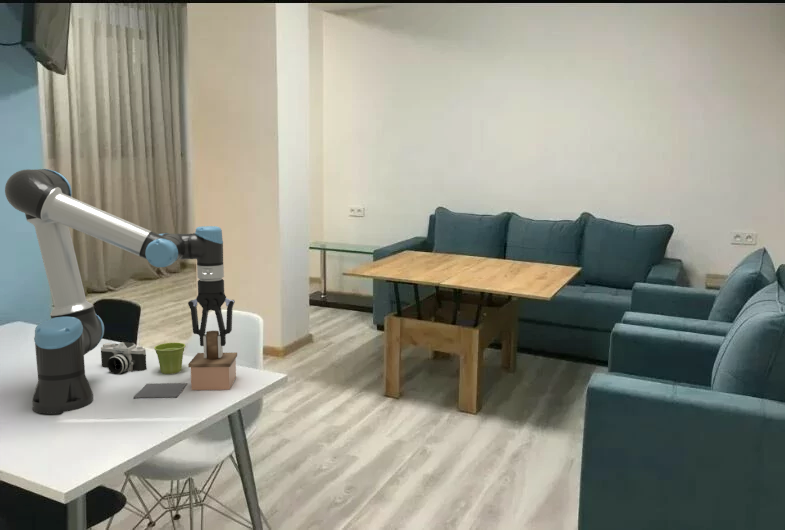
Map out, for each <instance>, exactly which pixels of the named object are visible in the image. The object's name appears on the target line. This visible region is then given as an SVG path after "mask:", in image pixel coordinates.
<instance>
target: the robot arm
mask: <svg viewBox="0 0 785 530" xmlns="http://www.w3.org/2000/svg"><path fill="white" fill-rule="evenodd" d="M72 193H73V192H72V187H71V184H70V182H69V180H68V179H67V178H66V177H65V176H64V175H63V174H61V173H59V172H58V171H55V170H51V169H49V168H48V169H47V168H42V169H41V168H40V169H38V168H37V169H29V168H28V169H27V168H26V169H21V170H18V171H16V172H14V173H13V174H12V175H10V176H9V178H8V179H7V181H6V182H5V186H4V195H5V197H6V200H7V201H8V204H10V206H12V207H13V208H14V209H16V210H17V211H19V212H21V213H24V215H25V219H26V221H27V222H28V223H29V224H31V225H33V227H34V229H35V233H36V238H37V242H38V247H39V250H40V253H41V254H40V255H41V257H42V263H43V266H44V270H45V274H46V275H45V276H46V278H47V283H48V286H49V290H50V294H51V298H52V303H53V307H54V308H53V309H52V310H51V312H50V315H49V316H50V319H45V320H43V321H41V322H40V323H38V324H37V325H36V326H35V327H34V328H35V330H34V337H33V339H34V346H35V356H36V357H35V358H36V359H35V360H36V369H37V370H36V372H37V384H36V387H35V388H34V393H33V397H32V401H31V405H32V410H33V411H34V412H36V413H38V414H45V415H47V414H49V415H50V414H51V415H53V414H54V415H57V414H63V413H66V412H72V411H76V410H79V409H82V408H85V407H87V406H89V405H91V404H92V403H93V402H94V401H95V400H94V393H93V389H92V387H91V385H90V383H89V381H88V379H87V375H86V369H85V366H86V365H85V355H87V354H88V353H89V352H91V351H92V350H94V349H95V348H96V347H98V346H99V344H100V342H102V339H103V337H104V335H105V325H104V322H103V320H102V318H101V317H100V316H99V314H98V315H97V313H96V311H95V306H94V304H93V303H91V302H90V301H88V300H87V298H86V293H85V290H84V284H83V282H82V281H83V280H82V277H81V272H80V269H79V268H80V267H79V264H78V263H79V262H78V260H77V256H76V255H77V254H76V251H75V247H74V243H73V238H72V235H71V231H70V228H71V229H73V230H75V231H78V232H81V233H83V234H85V235H88V236H90V237H92V238H95V239H97V240H100V241H102V242H104V243H106V244H108V245H111V246H114V247H117V248H119V249H121V250H122V251H123V250H124V251H126V252H129V253H131V254H133V255H136V256H138V257H141V258H142V259H145V260H146V261H147V262H148V263H149V264H150V265H151V266H153V267H155V268H166V267H169V266H172V265H173V264H174V263H175V262H176V261H179V260H196V270H197V271H196V273H197V274H196V275H197V279H198V280H197V296H196V298H195V299H190V300H189V301H188V302H187V304H188V307H189V309H190V315H191V324H192V325H191V326H192V333H193V334H195V335H198V336H199V345H200V347H203V353H204V358H207V337H206V332H207V331H206V329H207V323H208V317H209V316H208V315H209V311H214V313H215V318H216V322H217V326H218V331H219V335H218V358H221V357H222V355H223V353H224V352H223V347H225V345H226V344H227V340H226V338H227V337H226V335H228V334H230V333H231V332H232V330H233V308H234V305H235V299H230V298H227V296H226V294H225V280H224V277H225V275H224V274H225V271H224V268H225V267H224V241H223V230H222V228H221V227H220V226H218V225H217V226H216V225H214V226H213V225H207V226H205V225H204V226H203V225H202V226H197V227H196V228H195V232H194V233H167V232H165V233H157V232H154V231H152V230H150V229H147V228H145V227H143V226H140V225H138V224H135V223H134V222H131V221H128V220H126V219H124V218H121V217H119V216H117V215H115V214H112V213H110V212H107V211H105V210H102V209H100V208H98V207H95V206H93V205H91V204H89V203H87V202H84V201H81V200H79V199H77V198H74V197H72ZM198 304H199V306H201V308H202V310H201V311H202V312H201V314H202V315H201V320H200V326H199V318H198V317H199V316H198V308H197V306H198ZM223 304H225V306H226V323H224V322H225V321H224V318H223V313H222V306H223ZM225 324H226V327H225Z"/></svg>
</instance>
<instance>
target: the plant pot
mask: <svg viewBox="0 0 785 530" xmlns="http://www.w3.org/2000/svg"><path fill="white" fill-rule="evenodd" d="M185 348H186V344H185V343H182V342H164V343H160V344H157V345H155V346H154V347H153V349H154V350H155V352H156V356H157V360H158V364H159V369H160V373H161V374H165V375H174V374H178V373H180V372H181V371H182V370H183V369H182V368H183V359H184V351H185Z"/></svg>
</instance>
